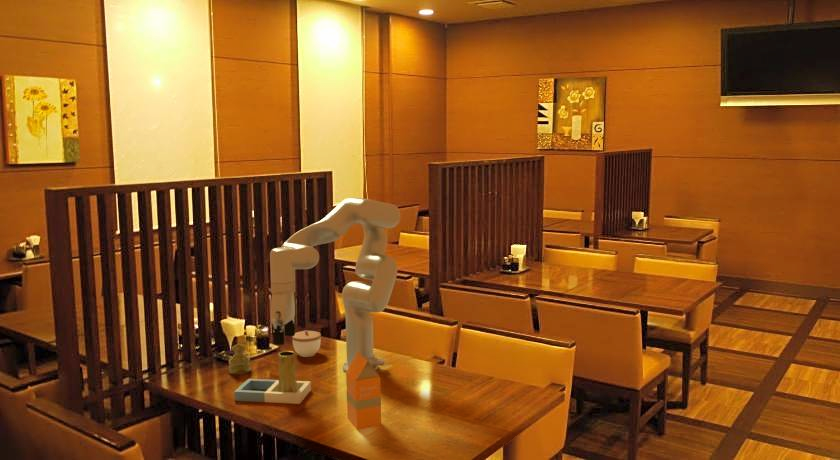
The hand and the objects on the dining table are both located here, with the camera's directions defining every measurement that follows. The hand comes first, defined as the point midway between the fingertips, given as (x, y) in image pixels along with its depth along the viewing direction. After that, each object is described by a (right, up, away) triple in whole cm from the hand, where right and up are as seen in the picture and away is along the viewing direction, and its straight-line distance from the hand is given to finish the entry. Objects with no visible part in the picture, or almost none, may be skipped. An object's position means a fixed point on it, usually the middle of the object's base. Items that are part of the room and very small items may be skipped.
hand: (284, 339), depth 223 cm
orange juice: (+27, -22, -17) cm, 38 cm away
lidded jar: (0, -13, +44) cm, 46 cm away
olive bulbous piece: (-21, -16, +27) cm, 37 cm away
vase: (+1, -19, +3) cm, 19 cm away
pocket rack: (-4, -19, +4) cm, 19 cm away
